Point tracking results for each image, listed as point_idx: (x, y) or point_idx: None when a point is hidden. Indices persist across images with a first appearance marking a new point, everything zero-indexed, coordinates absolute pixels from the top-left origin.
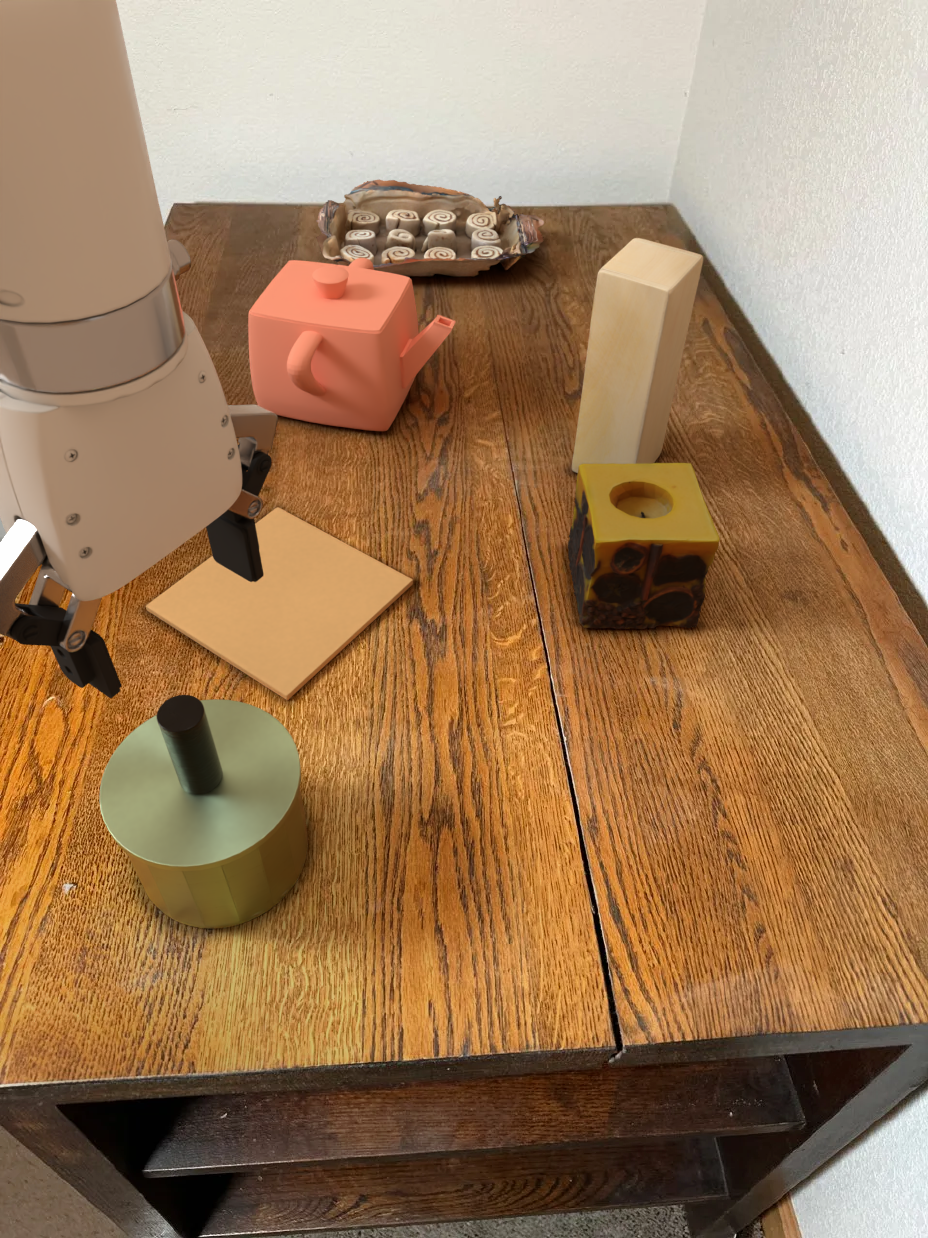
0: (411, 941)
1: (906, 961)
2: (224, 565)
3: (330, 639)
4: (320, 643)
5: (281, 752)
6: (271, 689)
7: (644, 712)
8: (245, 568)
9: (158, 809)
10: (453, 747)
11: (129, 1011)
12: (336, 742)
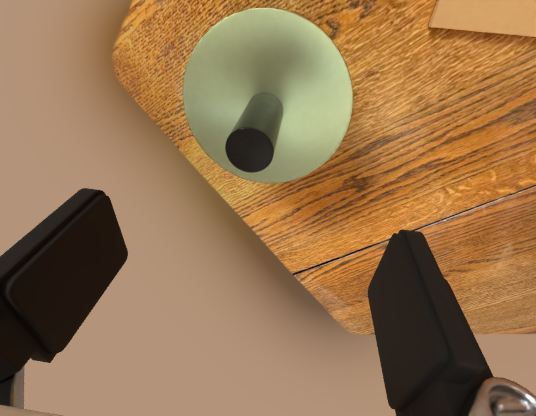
0: (286, 201)
1: (367, 332)
2: (386, 251)
3: (521, 17)
4: (513, 11)
5: (317, 153)
6: (436, 2)
7: (477, 248)
8: (375, 305)
9: (221, 101)
10: (417, 169)
11: (171, 100)
12: (395, 95)
